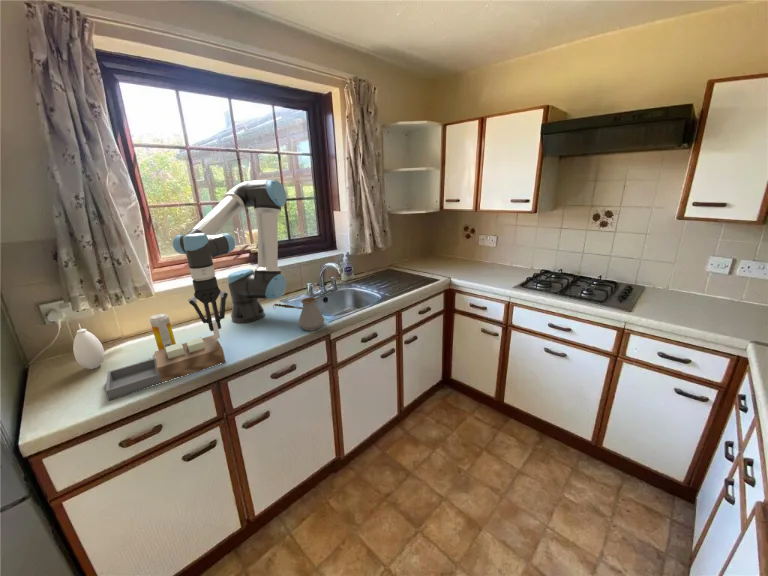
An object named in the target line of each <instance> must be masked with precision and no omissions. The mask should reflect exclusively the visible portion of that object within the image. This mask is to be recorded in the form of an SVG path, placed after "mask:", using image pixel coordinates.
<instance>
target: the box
mask: <svg viewBox="0 0 768 576" xmlns="http://www.w3.org/2000/svg"><path fill="white" fill-rule="evenodd" d="M159 383H162V381H161V378H160V375H159V371H158V368H157V363H156V357H154V358H150V359H148V360H144V361H140V362H136V363H134V364H130V365H126V366H123V367H119V368H115V369H112V370H109V371H107V375H106V385H105V393H106V396H107V399H108V401H112V400H116V399H118V398H119V399H120V398H122V397H124V396H128V395H131V394H134V393H137V392H139V390H141V391H143V390H142V389H144V388H147V387H150V386H152V385H156V384H159ZM162 384H163V383H162ZM159 385H160V384H159ZM156 386H157V385H156ZM150 388H151V387H150ZM147 389H148V388H147ZM144 390H145V389H144ZM136 391H137V392H136ZM133 392H134V393H133Z"/></svg>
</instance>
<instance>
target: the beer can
mask: <svg viewBox="0 0 768 576" xmlns="http://www.w3.org/2000/svg"><path fill="white" fill-rule="evenodd" d="M170 321H171V320H170V317H169V315H168V313H164V312H163V313H156V314H153V315H151V316H150V319H149V322H150V326H151V329H152V332H153V335H154V339H155V342H156V346H157V349H158V350H157V351H159V350H162V349H166V348H165V347H167V346H171V345H174V344H177V343H176V340H175V335H174V331H173V329H172V328H173V327H172V324H171V322H170Z"/></svg>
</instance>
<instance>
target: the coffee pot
mask: <svg viewBox="0 0 768 576" xmlns="http://www.w3.org/2000/svg"><path fill="white" fill-rule="evenodd" d="M316 302H317V298H315V297H305V298H304V299H302V300H301V303H302V304H303V306H294V305H289V304H281V303H279V304H278V303H273V305H272V308H273V310H275V309H276V307H278V308H279V307H282V308H285V309H286V308H287V309H297V310H301V312H300V315H299V319H298V321H297V322H298V323H297V324H298V325H299V327H300V328H302V329H303V330H305V331H310V332H311V331H316V330H318V329H320V328H321V327H322V326H323V324H324V323H325V317H324V316H323V314H322V313H321V310H320V309H319V308H318V306H317V304H316Z"/></svg>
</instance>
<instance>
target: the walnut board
mask: <svg viewBox="0 0 768 576" xmlns="http://www.w3.org/2000/svg"><path fill="white" fill-rule="evenodd" d="M201 338H202V340H203V341H204V345H205V348H203V349H200V350H197V351H193V352H189V349H188V347H187V343H186V342H184V343H182V346H183V349H184V352H185V354H183V355H180V356H176V357H173V358H169V359H168V355H167V352H166V349H162V350H156V351H154V358H156V363H157V368H158V371H159V375H160V378H161V381H162V382H165V381H168V382H170V381H169V380H171V379H174V378H177V377H180V378H182V377H181V376H183V377H186V376H188V375H187V374H189V375H191V373H192V374H195V373H198V372H202V371H204V370H203V369H205V370H208V369H209V367H211V368H213V367H212V366H214V367H216V366H215V365H217V366H219V365H218V364H220V363H223V364H225V363H224V362H227V361H226V358H225V353H224V349H223V346H222V345H221V343H220V341H219V339H216V338H215V336H214V334H213V335H210V336H205V337H201ZM220 365H221V364H220ZM207 368H208V369H207ZM201 370H202V371H201ZM194 372H195V373H194ZM185 375H186V376H185ZM177 379H178V378H177ZM174 380H175V379H174ZM171 381H172V380H171ZM165 383H166V382H165Z"/></svg>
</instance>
